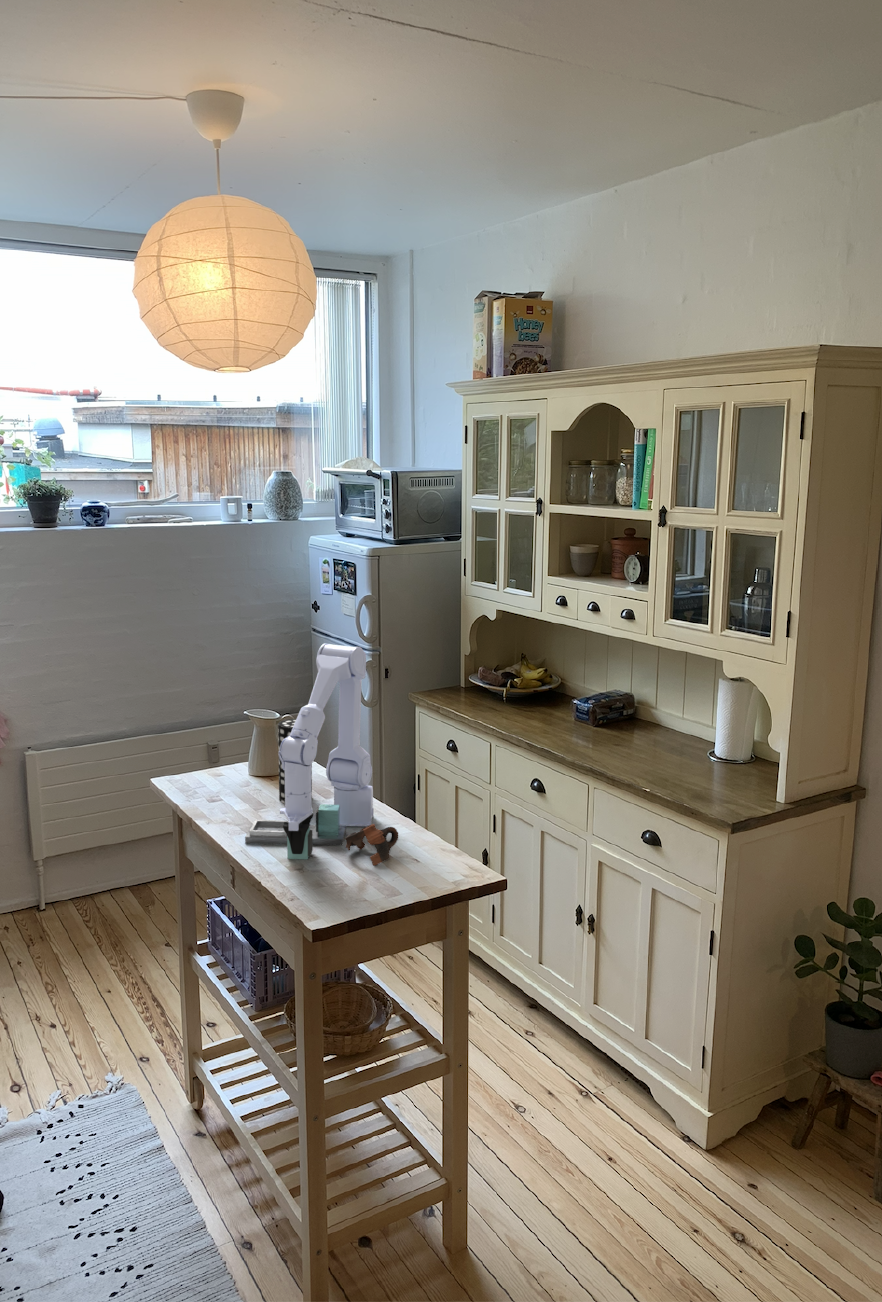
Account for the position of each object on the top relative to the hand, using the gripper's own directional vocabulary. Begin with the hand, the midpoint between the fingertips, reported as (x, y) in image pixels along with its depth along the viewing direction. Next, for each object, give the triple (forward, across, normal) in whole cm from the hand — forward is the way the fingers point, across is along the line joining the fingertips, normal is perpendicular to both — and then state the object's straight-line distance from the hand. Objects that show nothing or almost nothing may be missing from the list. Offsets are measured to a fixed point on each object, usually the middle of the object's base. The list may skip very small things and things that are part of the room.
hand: (298, 849), depth 213 cm
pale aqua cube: (+2, 0, 0) cm, 2 cm away
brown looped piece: (+2, -1, +16) cm, 16 cm away
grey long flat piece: (+1, -10, -2) cm, 10 cm away
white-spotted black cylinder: (+2, -35, -6) cm, 36 cm away
